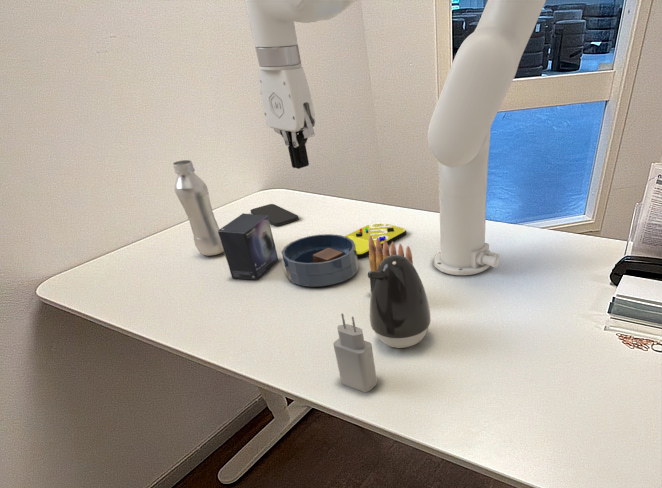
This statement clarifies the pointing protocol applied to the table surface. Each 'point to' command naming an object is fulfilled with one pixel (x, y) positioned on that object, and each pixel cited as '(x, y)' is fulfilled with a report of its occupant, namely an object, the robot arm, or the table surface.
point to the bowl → (321, 273)
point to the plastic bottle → (197, 208)
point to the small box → (248, 246)
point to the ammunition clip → (383, 254)
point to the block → (327, 255)
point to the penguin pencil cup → (398, 303)
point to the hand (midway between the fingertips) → (300, 166)
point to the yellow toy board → (375, 236)
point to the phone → (275, 214)
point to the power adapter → (354, 358)
